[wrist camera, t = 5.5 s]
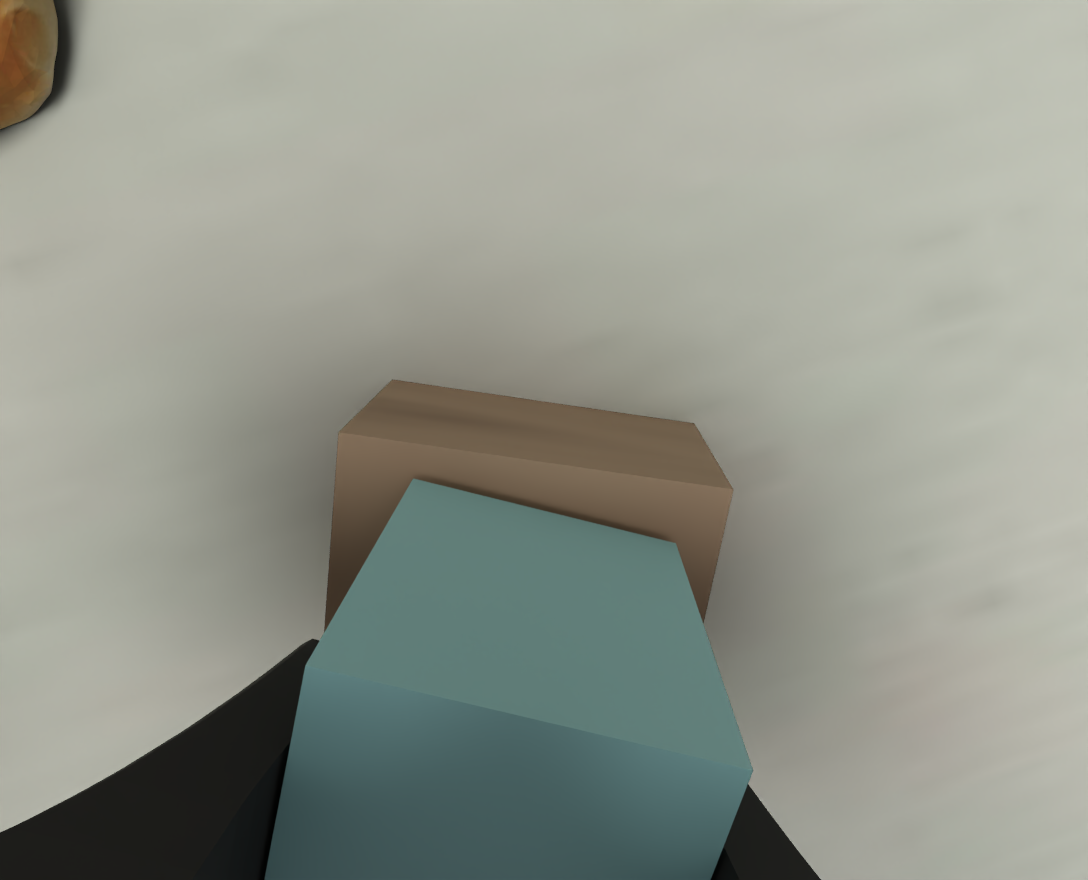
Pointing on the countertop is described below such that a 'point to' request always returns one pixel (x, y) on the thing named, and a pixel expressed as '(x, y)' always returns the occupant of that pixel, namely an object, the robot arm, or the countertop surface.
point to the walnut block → (526, 471)
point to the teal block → (510, 709)
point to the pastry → (26, 57)
